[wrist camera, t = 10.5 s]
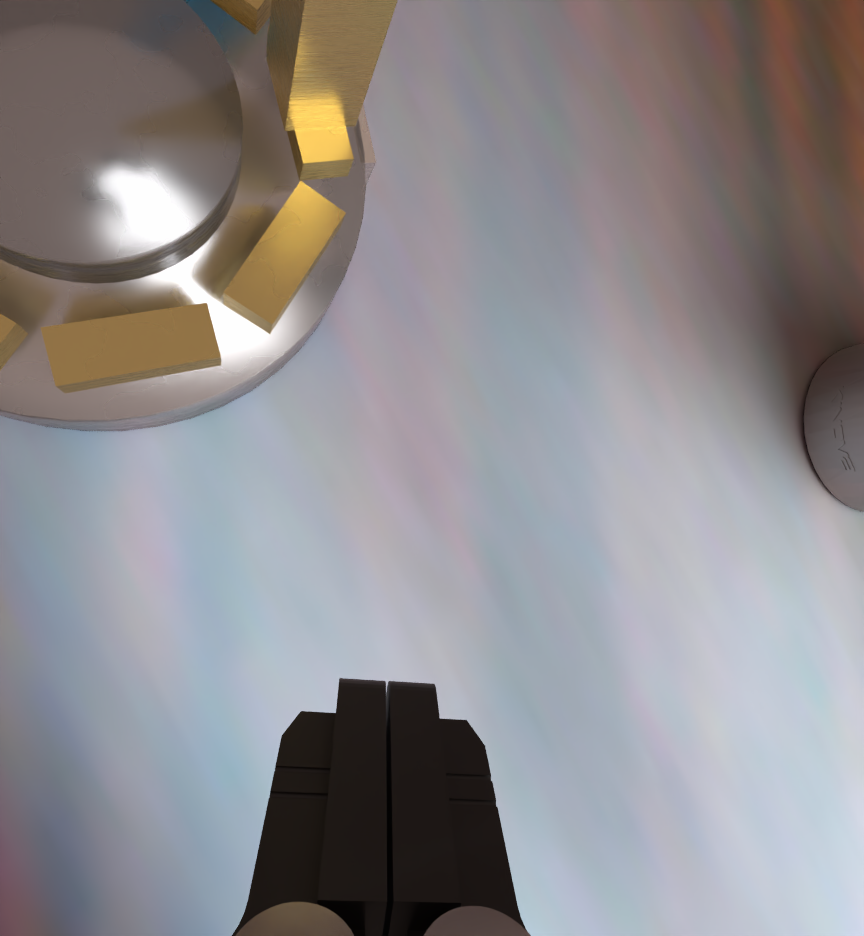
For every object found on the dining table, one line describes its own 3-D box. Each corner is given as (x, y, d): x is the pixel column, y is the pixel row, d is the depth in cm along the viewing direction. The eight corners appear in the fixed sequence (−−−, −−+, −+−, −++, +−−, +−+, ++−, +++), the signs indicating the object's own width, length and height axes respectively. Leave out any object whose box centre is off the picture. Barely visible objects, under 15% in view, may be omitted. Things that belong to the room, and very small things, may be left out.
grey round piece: (337, -24, 28) (360, -136, 23) (382, 414, 27) (416, 392, 22) (-238, -112, 21) (-369, -290, 17) (-200, 451, 21) (-326, 432, 16)
